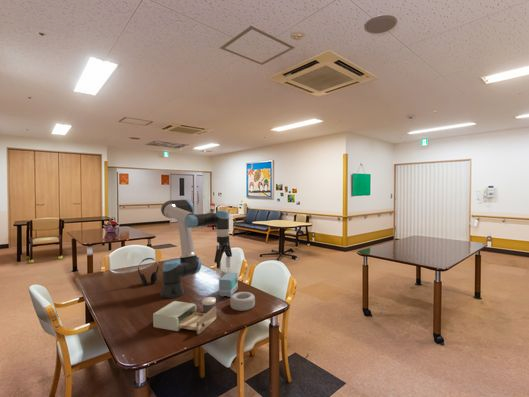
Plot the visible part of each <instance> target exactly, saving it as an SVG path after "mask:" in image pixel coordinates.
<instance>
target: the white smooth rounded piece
mask: <svg viewBox="0 0 529 397" xmlns="http://www.w3.org/2000/svg"><path fill="white" fill-rule="evenodd" d="M216 303H217V299H216V297H214V296H213V297H212V296H209V297H208V296H206V297H204V298H202V300H201V305H202V306H203V305H212V304H215V305H216Z"/></svg>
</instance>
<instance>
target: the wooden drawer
mask: <svg viewBox="0 0 529 397" xmlns="http://www.w3.org/2000/svg"><path fill="white" fill-rule="evenodd" d="M216 319H217V306H215V307H213V308H212V309H211V310H210V311H208V312H207V313H206V314H204V313H203V312H190V315H188V316H187V317H186V318H184V319H183V320H182V321H180V322H179V328H181V329H185V330H190V331H196V335H200V334H201V333H202V332H203V331H204V330H205V329H207V328H208V327H209V326H210V325H212V323H213V322H214V321H215V320H216Z"/></svg>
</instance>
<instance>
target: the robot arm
mask: <svg viewBox="0 0 529 397" xmlns="http://www.w3.org/2000/svg"><path fill="white" fill-rule="evenodd" d="M160 212H161V214H162V216H164V217H165V218H168V219H174V220H176V221H177V225H178V233H179V241H180V242H179V243H180V249H181V250H180V251H181V255H180V256H179V258H170V259H168V260H165V261H164V262H163V263H162V269H161V270H162V287H161V291H160V297H161V298H163V299H175V298H178V297H179V298H180V297H181V296H183V295H184V294H185V289H184V287H183V284H182V278H183V277H187V276H188V277H189V276H191V275H195V274H197V273H199V272H200V271H201V268H202V260H201V258H200V257H199V256H198V254H197V253H195V249H194V248H195V247H194V241H193V231H192V228H201V227H206V226H216V242H217V243H218V245H216V251H215V255H214V261H213V262H214V263H215V264H216V274H220V275H221V274H222V262H221V260H222V258H223V254H225V256H226V257H225V266H226V268H228V267H229V268H231V267H232V266H231V257H232V256H233V252H232V248H231V244H230V236H229V235H230V222H229V221H230V214H229V211H228V210H227V209H225V210H223V209H221V210H220V209H219V210H216V211H215V212H212V211H211V212H206V213H198V214H197V213H195V205H194V204H193V202H192V201H191V200H189V199H174V200H172V199H171V200H167V201H165V202H164V203H163V204H162V205H161V208H160Z"/></svg>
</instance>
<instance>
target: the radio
mask: <svg viewBox="0 0 529 397" xmlns="http://www.w3.org/2000/svg"><path fill="white" fill-rule="evenodd" d="M229 268H230V267H227V269H229ZM238 277H239V276H238V273H237V272H226V273H225V274H224V275H222V277H221V278H219V280H218V282H219V283H218V286H219V291H218V292H219V296H220V297H224V296H227V297H228V298H229V297H231V296H232V295H233V294H235V293H236V291H237V290H238V289H239V285H238V284H239V282H238V281H239V278H238Z"/></svg>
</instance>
